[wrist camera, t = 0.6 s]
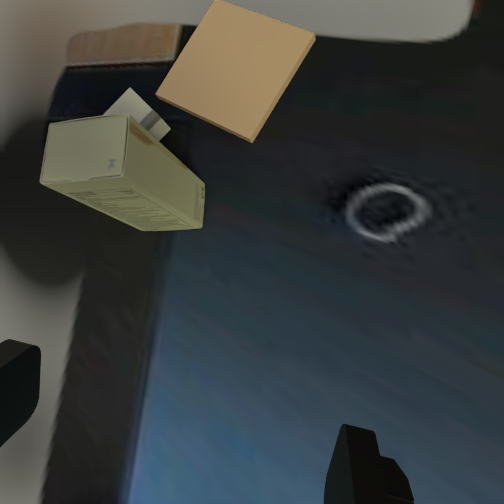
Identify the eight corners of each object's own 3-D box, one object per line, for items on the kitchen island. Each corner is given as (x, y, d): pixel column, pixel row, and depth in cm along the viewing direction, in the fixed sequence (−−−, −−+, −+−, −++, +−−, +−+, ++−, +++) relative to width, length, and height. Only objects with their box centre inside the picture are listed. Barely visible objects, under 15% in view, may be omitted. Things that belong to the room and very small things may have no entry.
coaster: (218, 4, 40) (215, -2, 39) (315, 39, 36) (314, 33, 36) (159, 98, 39) (155, 94, 39) (252, 143, 36) (249, 139, 35)
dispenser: (140, 99, 40) (126, 83, 37) (171, 128, 38) (158, 114, 36) (70, 171, 40) (51, 160, 38) (97, 204, 39) (79, 194, 36)
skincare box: (206, 182, 36) (134, 109, 25) (203, 229, 35) (127, 176, 24) (141, 186, 38) (45, 120, 26) (137, 232, 37) (36, 183, 25)
